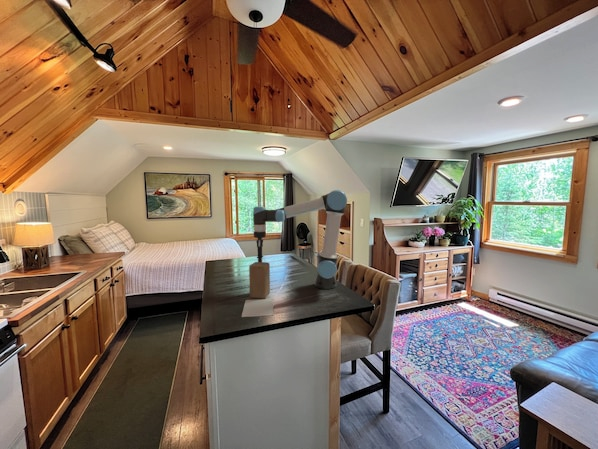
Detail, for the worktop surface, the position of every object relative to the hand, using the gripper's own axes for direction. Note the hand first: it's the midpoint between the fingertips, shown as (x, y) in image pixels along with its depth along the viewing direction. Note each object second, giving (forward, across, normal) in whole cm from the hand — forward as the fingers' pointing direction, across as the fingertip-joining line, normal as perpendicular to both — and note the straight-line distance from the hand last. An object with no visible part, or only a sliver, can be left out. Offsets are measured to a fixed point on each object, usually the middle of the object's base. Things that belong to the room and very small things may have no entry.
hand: (260, 267), depth 160 cm
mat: (+15, +25, 0) cm, 29 cm away
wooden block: (+16, +8, 0) cm, 18 cm away
